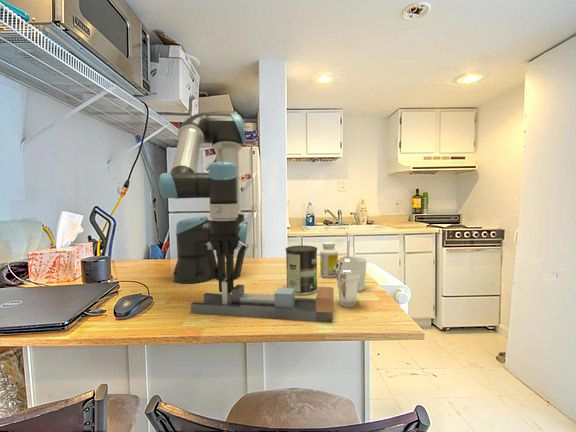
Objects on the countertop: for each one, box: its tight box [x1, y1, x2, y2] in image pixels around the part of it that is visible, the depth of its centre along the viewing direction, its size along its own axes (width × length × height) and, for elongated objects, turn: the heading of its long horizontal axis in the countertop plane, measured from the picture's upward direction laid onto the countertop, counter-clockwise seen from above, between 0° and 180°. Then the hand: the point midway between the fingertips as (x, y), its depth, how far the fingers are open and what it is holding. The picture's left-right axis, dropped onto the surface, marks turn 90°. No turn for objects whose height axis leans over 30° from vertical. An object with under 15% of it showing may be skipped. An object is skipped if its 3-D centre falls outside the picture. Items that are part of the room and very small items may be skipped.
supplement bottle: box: [319, 241, 339, 279], centre depth 114 cm, size 7×7×13 cm
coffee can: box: [285, 245, 318, 296], centre depth 98 cm, size 10×10×14 cm
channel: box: [190, 286, 335, 323], centre depth 81 cm, size 38×9×6 cm, turn 79°
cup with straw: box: [333, 232, 363, 308], centre depth 85 cm, size 8×9×20 cm
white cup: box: [352, 256, 367, 292], centre depth 99 cm, size 8×8×10 cm
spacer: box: [273, 287, 296, 308], centre depth 80 cm, size 5×5×6 cm
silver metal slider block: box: [231, 284, 275, 307], centre depth 82 cm, size 12×4×6 cm, turn 79°
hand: (226, 303), depth 83 cm, fingers closed
